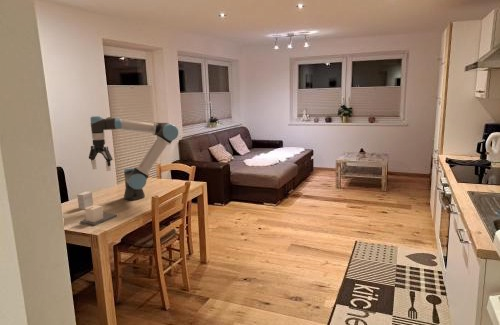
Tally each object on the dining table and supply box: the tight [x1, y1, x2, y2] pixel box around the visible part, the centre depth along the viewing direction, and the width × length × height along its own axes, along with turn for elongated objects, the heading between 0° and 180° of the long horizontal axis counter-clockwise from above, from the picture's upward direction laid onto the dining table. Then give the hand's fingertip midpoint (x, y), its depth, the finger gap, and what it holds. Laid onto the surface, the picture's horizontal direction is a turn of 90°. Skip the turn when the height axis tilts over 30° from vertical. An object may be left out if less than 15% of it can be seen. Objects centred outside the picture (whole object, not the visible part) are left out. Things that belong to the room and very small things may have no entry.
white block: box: [84, 204, 104, 222], centre depth 219 cm, size 7×7×8 cm
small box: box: [77, 190, 94, 210], centre depth 247 cm, size 8×6×10 cm
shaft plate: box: [79, 211, 118, 227], centre depth 222 cm, size 18×12×6 cm, turn 154°
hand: (101, 169), depth 243 cm, fingers open, 13 cm apart
